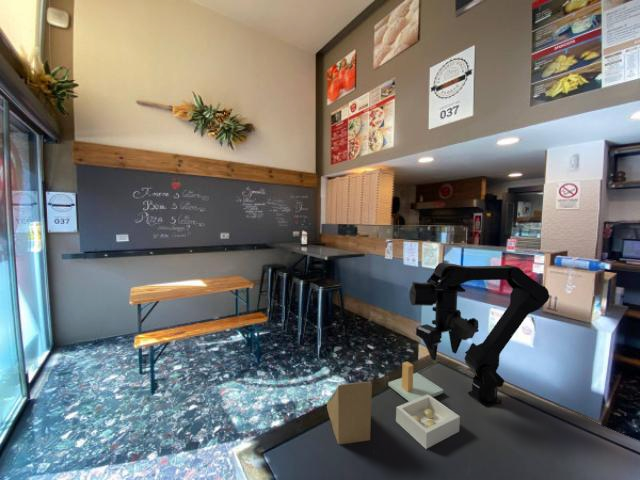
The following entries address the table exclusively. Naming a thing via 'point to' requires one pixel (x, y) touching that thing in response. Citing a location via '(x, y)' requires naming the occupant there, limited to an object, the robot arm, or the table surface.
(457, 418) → the tub
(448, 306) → the robot arm
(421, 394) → the lid
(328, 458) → the table surface
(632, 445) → the table surface
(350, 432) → the sandwich container
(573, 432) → the table surface
